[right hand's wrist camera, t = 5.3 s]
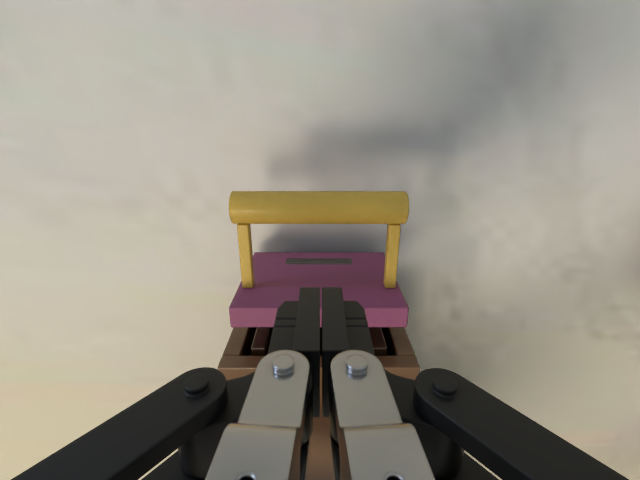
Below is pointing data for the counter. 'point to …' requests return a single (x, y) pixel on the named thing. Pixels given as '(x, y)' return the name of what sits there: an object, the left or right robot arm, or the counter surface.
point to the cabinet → (395, 362)
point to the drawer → (318, 259)
